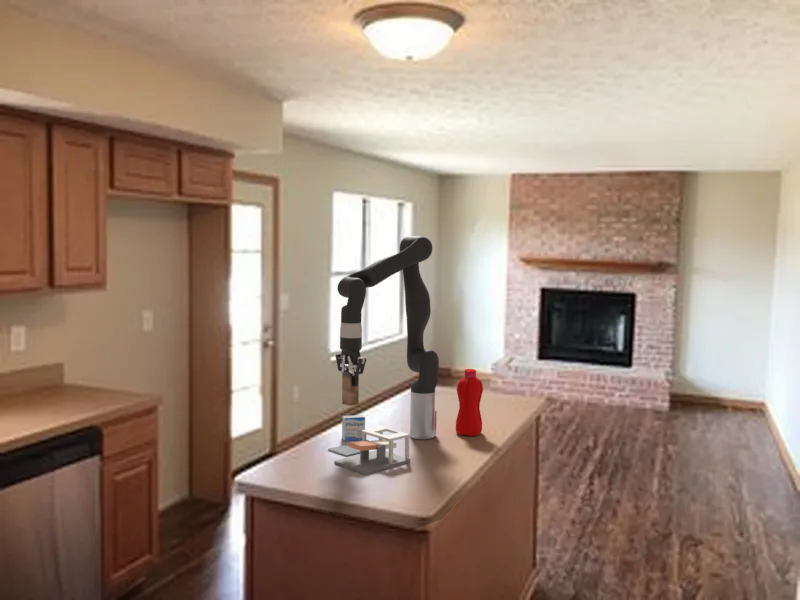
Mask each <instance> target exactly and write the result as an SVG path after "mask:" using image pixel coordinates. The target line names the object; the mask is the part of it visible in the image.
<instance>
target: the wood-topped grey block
mask: <svg viewBox="0 0 800 600" xmlns="http://www.w3.org/2000/svg"><path fill="white" fill-rule="evenodd" d="M341 374H342V378H341V380H342V383H341V386H342V387H341V389H342V390H341V391H342V393H341V394H342V396H341V401H342V402H341V405H345V406H351V407H352V406H355V405H359V402H360V401H359V400H360V399H359V395H360V394H359V389H360V388H359V387H360V385H359V383H360V382H359V381H360V379H359V378H360V377H359V376H358V385H357V386H352V376H353V375H352V371H351V370H349V372H343V373H342V372H341Z"/></svg>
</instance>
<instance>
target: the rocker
mask: <svg viewBox="0 0 800 600" xmlns="http://www.w3.org/2000/svg"><path fill="white" fill-rule="evenodd" d="M348 444H349V445H348V447H351V448H354V449H357V450H360V451H364V450H369V451H375V450H377V447H378V446H382V445H385V446H386V450H387V449H388V450H389V441H387V440H379V439H376V440H369V441H362V440H358V441H348ZM397 445H398V443H396V442H394V441H393V449H397Z"/></svg>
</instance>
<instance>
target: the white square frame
mask: <svg viewBox="0 0 800 600" xmlns="http://www.w3.org/2000/svg"><path fill="white" fill-rule="evenodd" d="M384 432H385V433H386V432H388V433H391V434H384ZM361 433H362V440H361V441H370V440H368V439H367V436H370V437H374V438H377V439H378V440H387V441H389V449H388V451H386V450H387V449H386V446H385V445H382V446H378V447H377V450H364V451H360V453H359V454H355V455H351V456H347V457H345V458H341V459H337V460H334V465H337V466H339V467H341V468H345V469H348V470H350V471H353V472H356V473H359V474H362V475H364V476H366V475H369V474H373V473H377V472H381V471H384V470H387V469H390V468H391V469H392V468H394V467H397V466H398V467H399V466H401V465H402V466H403V465H405V464H408V463H411V459H410V443H411V442H410V440H411V439H410V438H411V437H410V433H407V432H403V431H400V430H396V429H392V428H388V427H385V426H382V425H380V426H374V427H371V428H365V430H361ZM401 439H404V440H405V441H404V442H405V443H404V446H405V447H404V456H402V455H398V454H394V448H393V442H394V441H398V440H401Z"/></svg>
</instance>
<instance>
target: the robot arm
mask: <svg viewBox="0 0 800 600" xmlns="http://www.w3.org/2000/svg"><path fill="white" fill-rule="evenodd" d="M432 252H433V243H432V241H431V240H430V239H429V238H427V237H425V236H423V235H421V236H417V235H412V236H411V235H410V236H409V235H408V236H405V237H403V238H402V240H401V241H400V244H399V252H398V253H396V254H393V255H390V256H387V257H384V258H382V259H379V260H377V261H374V262H373V263H371V264H369V265H368V266H366V267H364V268H363V269H361V270H359V271H355V272H353V273H350V274H348V275H346V276H344V277H343V278H342V279H340V281H339V282H338V283H337V292H338V294H339V295H340V296H341V297H343V298H345V299H346V298H347V302H346V303H347V304H346V305H343V306H342V307H341V310H340V311H341V312H340V317H341V318H340V327H339V349H340V350H341V352H340V353H336V354H335V355H334V356H335V359H336V360H335V361H336V365H337V369H338V372H340V373H341V374H342V373H343V372H349V371H352V375H353V376H352V386H357V385H358V376H359V375H363V373H364V370H365V366H366V363H367V358H366V357H362V356H361V352H360V351H361V350H362V348H363V347H362V345H363V341H362V340H363V326H362V317H363V316H362V310H363V308H364V303H365V299H366V295H367V288H372V287H375V286H377V285H378V284H380V283H381V282H383V281H385V280H387V279H388V278H390V277H392V276H394V275H395V274H396V273H399V272H401V271H402V274H403V287H404V302H405V304H404V306H405V313H406V332H407V333H406V334H407V335H406V336H407V340H406V341H407V342H406V344H407V345H406V363H407V365H408V366H407V367H408V368H409V370H411V372H415V373H418V380H417V381H414V382H412V383H411V384H410V407H409V409H410V412H409V413H410V414H409V420H410V421H409V434H410V438H412V439H415V440H416V439H417V440H431V439H434V437H437V417H438V416H437V410H436V387H437V384H438V382H439V381H438V379H439V370H440V369H439V368H440V366H439V365H440V363H439V361H440V359H439V356H438V355H439V354H437V352H436V351H434V350H433V349H428V348H425V345H424V333H425V330H426V327H427V325H428V323H429V322H430V321H429V320H430V318H431V314H432V313H431V312H432V311H431V297H430V293H429V291H428V288H427V287H426V285H425V284H426V283H425V282H424V280H423V278H422V276H421V272H420V263H421V262H424V261H427V260H428V259H429V258H430V257H431V256H432Z"/></svg>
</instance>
